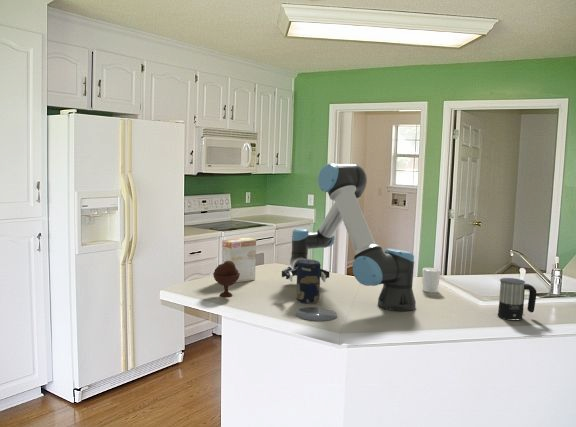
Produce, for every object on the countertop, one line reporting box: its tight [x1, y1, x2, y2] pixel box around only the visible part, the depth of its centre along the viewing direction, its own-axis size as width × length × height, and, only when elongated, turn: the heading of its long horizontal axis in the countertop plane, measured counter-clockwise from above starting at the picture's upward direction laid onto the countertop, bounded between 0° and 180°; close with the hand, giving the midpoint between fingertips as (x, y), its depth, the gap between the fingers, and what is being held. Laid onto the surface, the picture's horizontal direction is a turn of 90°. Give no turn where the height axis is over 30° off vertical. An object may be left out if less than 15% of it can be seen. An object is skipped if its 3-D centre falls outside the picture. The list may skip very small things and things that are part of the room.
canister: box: [295, 258, 321, 304], centre depth 224 cm, size 10×10×18 cm
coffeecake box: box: [221, 237, 257, 284], centre depth 255 cm, size 15×7×20 cm, turn 130°
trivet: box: [294, 306, 338, 322], centre depth 207 cm, size 16×16×1 cm
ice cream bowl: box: [212, 261, 240, 298], centre depth 229 cm, size 11×11×15 cm
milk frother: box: [496, 277, 537, 320], centre depth 216 cm, size 14×16×15 cm
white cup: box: [421, 267, 441, 294], centre depth 250 cm, size 8×8×10 cm
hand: (308, 278), depth 223 cm, fingers open, 13 cm apart
